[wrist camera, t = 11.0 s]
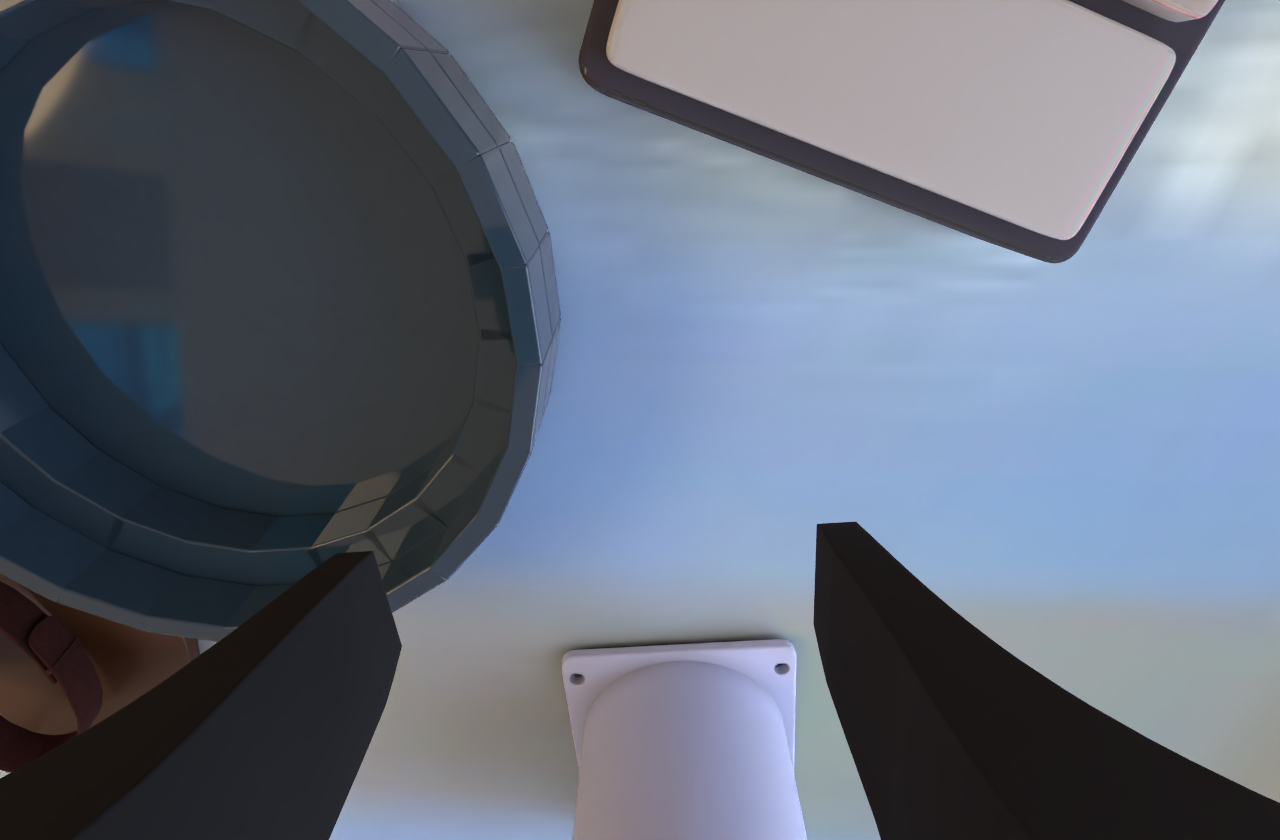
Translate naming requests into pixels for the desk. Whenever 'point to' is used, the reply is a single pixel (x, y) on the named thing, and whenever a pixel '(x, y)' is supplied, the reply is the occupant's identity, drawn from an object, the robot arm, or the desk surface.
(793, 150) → the calculator
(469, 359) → the bowl
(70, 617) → the coaster
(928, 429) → the desk surface
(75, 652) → the watch
